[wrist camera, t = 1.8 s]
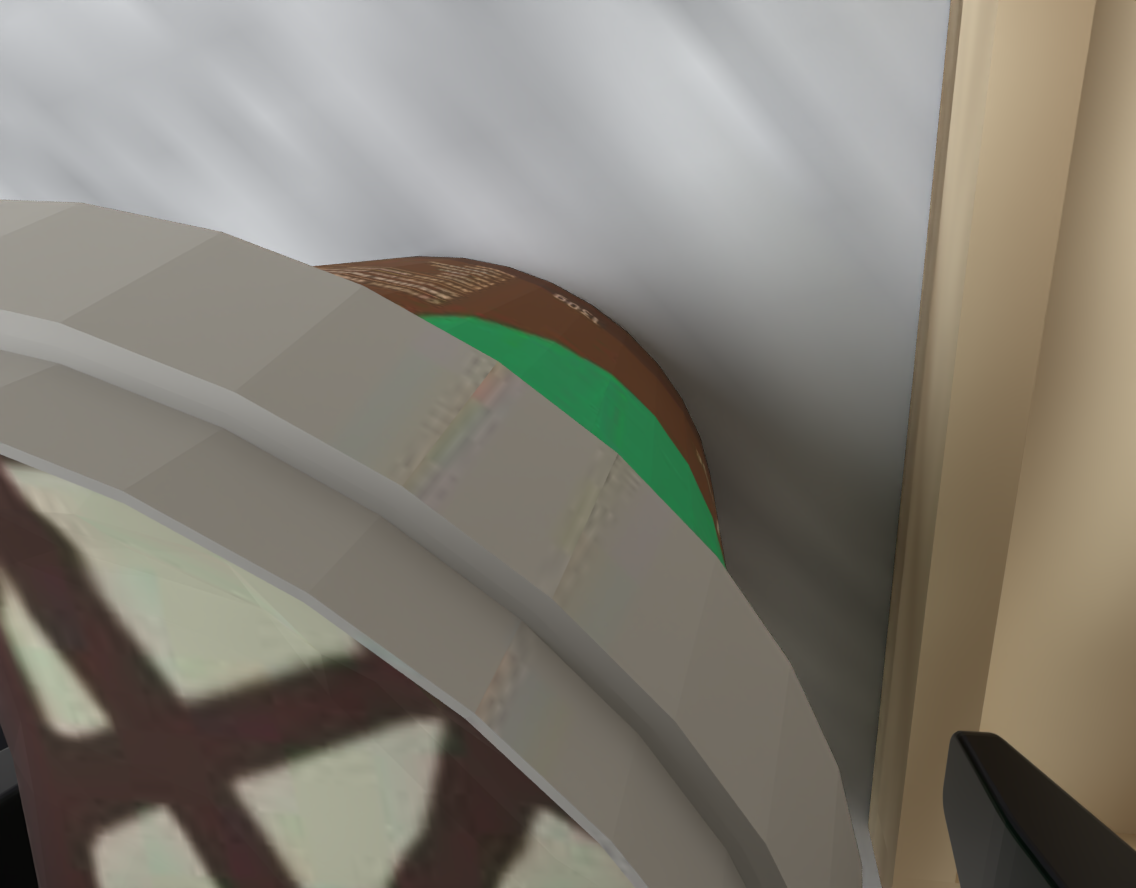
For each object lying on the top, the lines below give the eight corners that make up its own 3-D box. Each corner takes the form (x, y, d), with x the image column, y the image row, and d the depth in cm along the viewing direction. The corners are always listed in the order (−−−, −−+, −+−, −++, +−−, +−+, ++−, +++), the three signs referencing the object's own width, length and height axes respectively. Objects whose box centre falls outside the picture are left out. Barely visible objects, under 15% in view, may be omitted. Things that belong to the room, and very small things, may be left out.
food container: (769, 785, 16) (848, 1685, 7) (479, 760, 17) (203, 1500, 8) (798, 137, 11) (1165, 143, 2) (403, 162, 12) (-467, 233, 3)
